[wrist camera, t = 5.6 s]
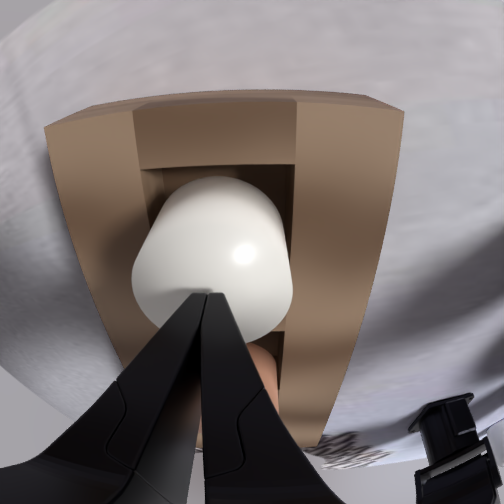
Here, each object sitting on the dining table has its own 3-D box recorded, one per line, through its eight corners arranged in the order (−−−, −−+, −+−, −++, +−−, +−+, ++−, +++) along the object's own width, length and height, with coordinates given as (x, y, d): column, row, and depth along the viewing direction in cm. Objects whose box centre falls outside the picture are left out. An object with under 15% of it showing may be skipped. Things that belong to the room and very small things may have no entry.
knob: (281, 285, 12) (287, 346, 10) (167, 285, 12) (150, 344, 10) (285, 175, 10) (297, 221, 7) (147, 179, 10) (114, 225, 7)
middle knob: (274, 390, 17) (276, 438, 14) (194, 389, 17) (188, 436, 14) (278, 339, 14) (282, 396, 12) (180, 338, 14) (169, 393, 12)
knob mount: (312, 405, 25) (316, 446, 22) (173, 405, 26) (167, 445, 22) (365, 95, 12) (404, 111, 9) (91, 106, 12) (43, 127, 9)
